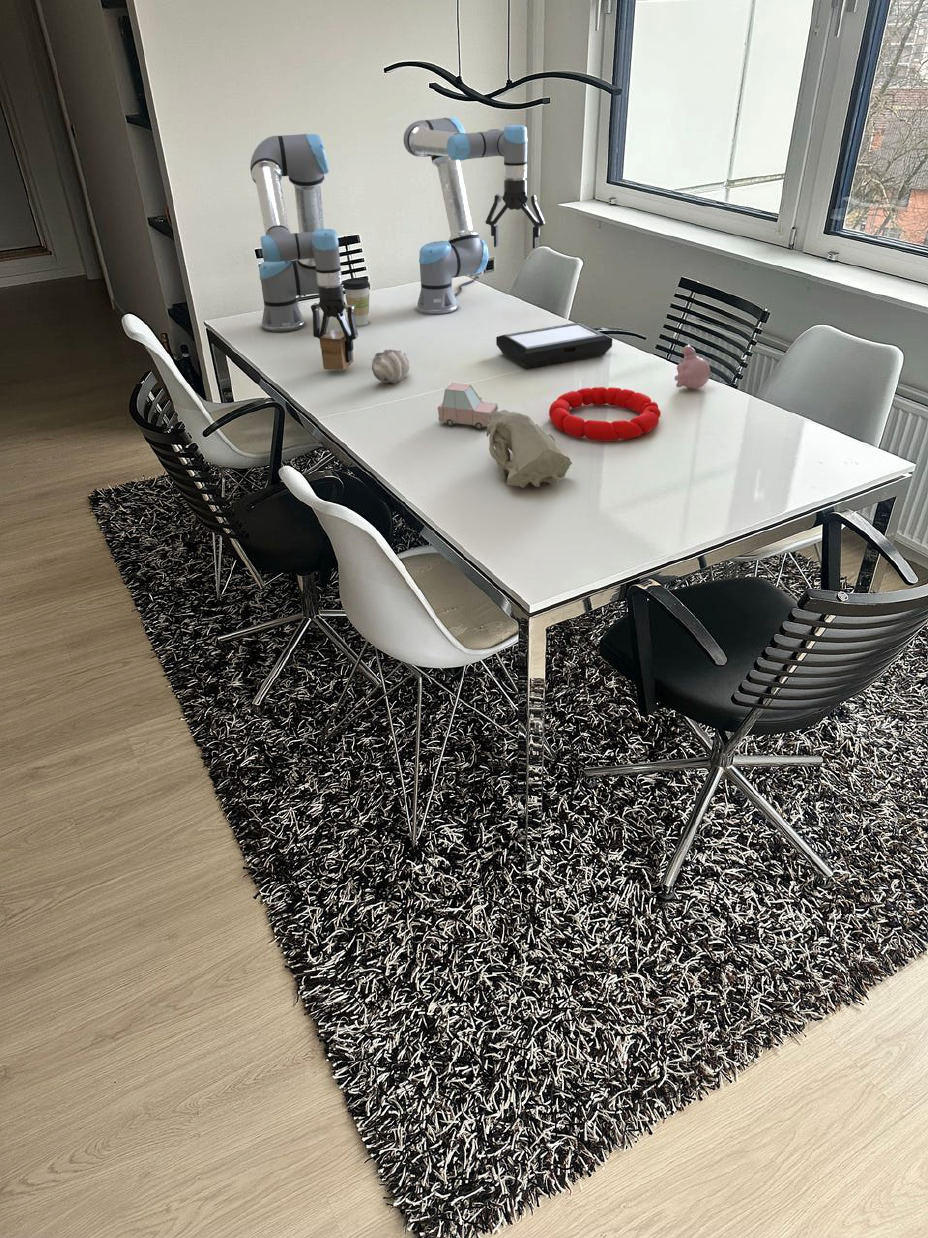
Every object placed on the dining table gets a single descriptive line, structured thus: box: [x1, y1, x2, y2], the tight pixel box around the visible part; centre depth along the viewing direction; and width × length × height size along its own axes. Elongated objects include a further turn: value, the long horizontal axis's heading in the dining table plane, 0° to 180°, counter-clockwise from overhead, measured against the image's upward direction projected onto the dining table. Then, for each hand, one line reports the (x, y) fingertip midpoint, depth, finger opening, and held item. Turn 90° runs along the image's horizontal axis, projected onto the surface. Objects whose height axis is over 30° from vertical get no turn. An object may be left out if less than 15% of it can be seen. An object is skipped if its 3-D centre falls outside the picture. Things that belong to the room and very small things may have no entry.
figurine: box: [674, 344, 711, 390], centre depth 259 cm, size 9×11×12 cm
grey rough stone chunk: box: [485, 409, 573, 489], centre depth 216 cm, size 17×25×20 cm
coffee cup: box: [342, 277, 371, 327], centre depth 323 cm, size 10×10×15 cm
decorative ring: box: [548, 386, 661, 442], centre depth 242 cm, size 7×30×30 cm
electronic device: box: [495, 322, 613, 370], centre depth 290 cm, size 32×6×20 cm
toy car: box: [437, 382, 499, 431], centre depth 243 cm, size 9×15×10 cm, turn 70°
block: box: [319, 329, 355, 371], centre depth 281 cm, size 9×7×10 cm
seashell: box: [371, 349, 411, 384], centre depth 271 cm, size 10×15×10 cm
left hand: (338, 359), depth 283 cm, fingers closed on block, 7 cm apart
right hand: (515, 246), depth 306 cm, fingers open, 13 cm apart
